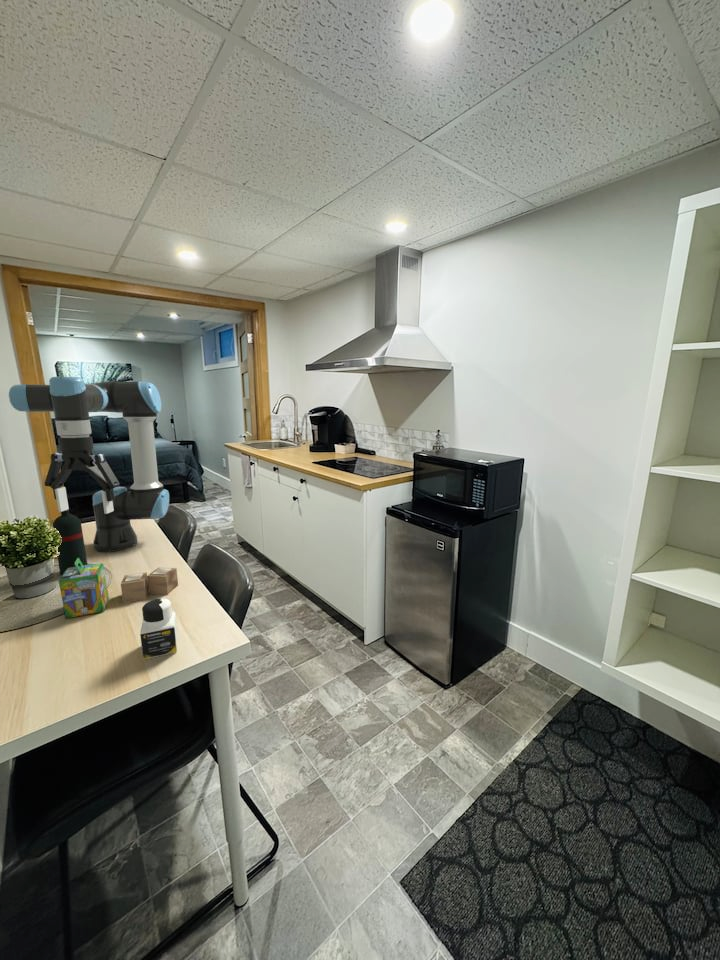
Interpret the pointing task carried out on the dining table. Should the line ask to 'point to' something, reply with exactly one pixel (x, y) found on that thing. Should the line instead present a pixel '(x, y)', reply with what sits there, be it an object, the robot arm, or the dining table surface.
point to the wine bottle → (70, 541)
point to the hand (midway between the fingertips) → (86, 511)
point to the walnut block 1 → (134, 587)
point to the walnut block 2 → (162, 580)
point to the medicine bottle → (158, 629)
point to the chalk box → (83, 589)
